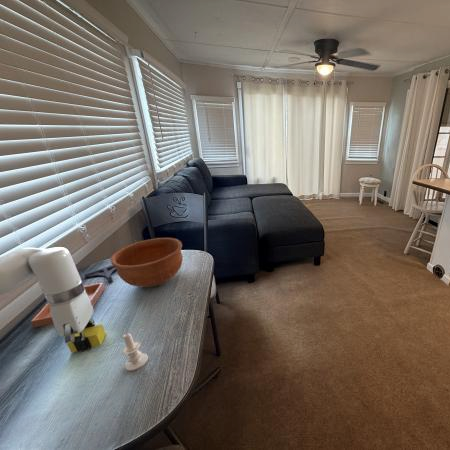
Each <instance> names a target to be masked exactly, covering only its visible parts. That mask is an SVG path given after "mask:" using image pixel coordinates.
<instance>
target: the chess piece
mask: <svg viewBox="0 0 450 450" xmlns="http://www.w3.org/2000/svg"><path fill="white" fill-rule="evenodd" d="M122 337H123V340H124V342H125V346H124V348H123V349H122V354H123V355H128V356H127V358H126V360H127V361H126V362H125V364H124V368H125V371H127V372H135V371H137V370H139V369H141V368H143V366H145V365H146V364H147V362H148V359H149V357H148V354H147V353H145V352H141V351H140V350H139V349H140V347H141V342H139V341H134V339H133V336H132V335H131V333H129V332H126V333H124V335H123V336H122Z"/></svg>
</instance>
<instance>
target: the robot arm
mask: <svg viewBox="0 0 450 450" xmlns="http://www.w3.org/2000/svg"><path fill="white" fill-rule="evenodd" d="M32 278H35V279H36V281H37V283H38V285H39V287H40V289H41V291H42V293H43V295H44V297H45V299H46V301H47V303H49V305H50V313H51V317H52V320H53V323H52V324H53V325H54V328H55V330H56V333H57V335H58V336H59V337H60V338H64V343H65V345H67V343H74V346H75V348H76V350H77V351H76V352H77V353H81V352H84V351H88V350H91V349H92V348H93V347H92V346H91V344H90V341H89V339H88V337H85V334H84V330H83V329H84V328H88V327H92V326H96V324H95V319H94V318H93V315H94V311H95V310H94V306H92V304H91V301H90V299H89V297H88V295H87V294H86V292H85V288H84V286H85V285H84V283H83V281H82V278H81V276H80V273H79V271H78V269H77V267H76V263H75V261H74V259H73V257H72V254H71V252H70V251H69V250H68V249H67V248H65V247H61V246H57V247H56V246H55V247H50V248H49V247H48V248H39V247H23V248H19V249H16V250H14V251H12V252H10V253H7V254H6V255H2V256H1V257H0V295H4V294H6V293H9V292H10V291H12V290H14V289H16V288H17V287H19V286H20V285H22V284H23V283H25V282H27V281H29V280H30V279H32ZM77 333H79V334H80V336H76V337H75V335H74V334H77Z"/></svg>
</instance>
